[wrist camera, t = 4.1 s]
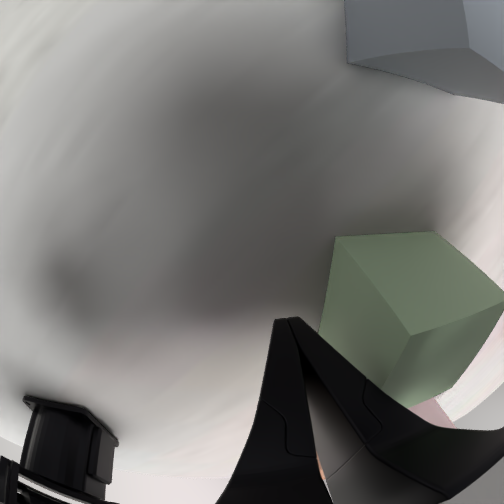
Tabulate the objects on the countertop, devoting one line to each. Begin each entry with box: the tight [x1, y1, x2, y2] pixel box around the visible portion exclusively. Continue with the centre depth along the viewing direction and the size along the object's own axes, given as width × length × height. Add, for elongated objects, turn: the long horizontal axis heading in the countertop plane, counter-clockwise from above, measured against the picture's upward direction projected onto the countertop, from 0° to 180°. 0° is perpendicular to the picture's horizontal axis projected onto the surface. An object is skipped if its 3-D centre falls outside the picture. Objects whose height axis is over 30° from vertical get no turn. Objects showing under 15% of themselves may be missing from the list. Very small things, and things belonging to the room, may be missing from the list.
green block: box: [318, 231, 504, 409], centre depth 9 cm, size 5×5×5 cm
